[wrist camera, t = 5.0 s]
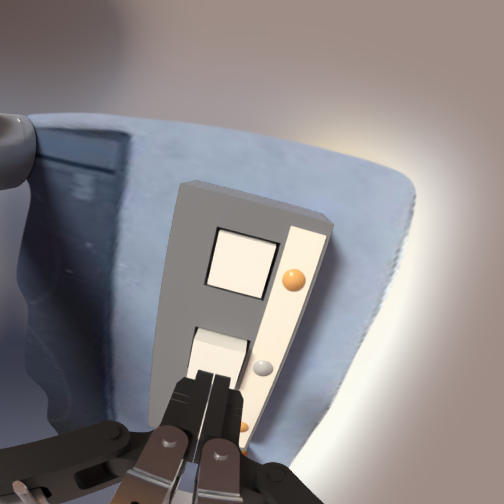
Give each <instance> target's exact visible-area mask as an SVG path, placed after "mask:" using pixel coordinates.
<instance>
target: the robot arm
mask: <svg viewBox="0 0 504 504" xmlns="http://www.w3.org/2000/svg"><path fill="white" fill-rule="evenodd" d="M35 155H36V135H35V130H34V127H33V125H32V123H31V121H30V120H29V119H28V118H27V117H25V116H23V115H12V114H1V113H0V190H5V189H10V188H15V187H18V186H19V185H21V184H22V183H23V182H24V181H25V180H26V179H27V177H28V176H29V174H30V172H31V169H32V167H33V164H34V160H35ZM213 376H214V373H211V372H207V371H203V370H199V369H198V371H197V374H196V377H195V380H193V379H190V378H186V377H183V378H182V379H181V380H180V381H178V382H177V383H176V386H175V388H174V391H173V393H172V396H171V399H170V401H169V403H168V406H167V408H166V411H165V413H164V416H163V418H162V421H161V423H160V425H159V426H158V427H157V428H156V429H154V430H153V431H150V432H129V431H128V429H127V428H126V427H125V426H124V425H123V424H121V423H119V422H116V421H112V420H108V421H103V422H100V423H97V424H94V425H91V426H87V427H84V428H81V429H78V430H75V431H71V432H68V433H64V434H61V435H57V436H54V437H50V438H46V439H43V440H39V441H35V442H31V443H27V444H23V445H18V446H14V447H9V448H5V449H0V504H60V503H63V502H66V501H70V500H73V499H76V498H79V497H82V496H85V495H88V494H90V493H93V492H96V491H99V490H101V489H104V488H106V487H109V486H111V485H114V484H116V483H119V482H121V483H120V485H119V487H118V489H117V491H116V493H115V494H114V497H113V498H112V500H111V502H110V504H172V501H173V498H174V496H175V493H176V491H177V488H178V485H179V483H180V480H181V477H182V474H183V473H184V471H185V468H186V464H187V461H188V462H192V461H193V457H194V453H195V449H196V445H197V441H198V437H199V433H200V429H201V425H202V421H203V417H204V413H205V409H206V405H207V401H208V397H209V393H210V388H211V384H212V380H213ZM230 381H231V377H227V376H223V375H219V374H215V377H214V381H213V385H212V389H211V393H210V397H209V401H208V405H207V409H206V413H205V417H204V421H203V425H202V429H201V433H200V438H199V442H198V446H197V450H196V455H195V459H194V463H196V464H198V468H197V472H196V476H195V481H194V488H193V497H192V504H324V503H323V502H322V501H321V500H319V498H318V497H316V496H315V495H314V494H313V493H312V492H311V491H310V490H309V489H308V488H307V487H306V486H305V485H304V484H303V483H302V482H301V481H300V480H299V478H298V477H297V476H296V475H295V474H293V472H292V471H291V470H290V469H289V468H288V467H286V466H285V465H283V464H280V463H276V462H270V463H266V464H263V465H262V464H259V463H257V462H255V461H252V460H250V459H249V458H247V457H246V456H245V455H244V454H243V453H242V452H241V450H240V447H239V438H240V429H241V421H242V412H243V403H244V399H243V396H242V394H241V392H240V391H238V390H234V389H230V388H229V387H230Z"/></svg>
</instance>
